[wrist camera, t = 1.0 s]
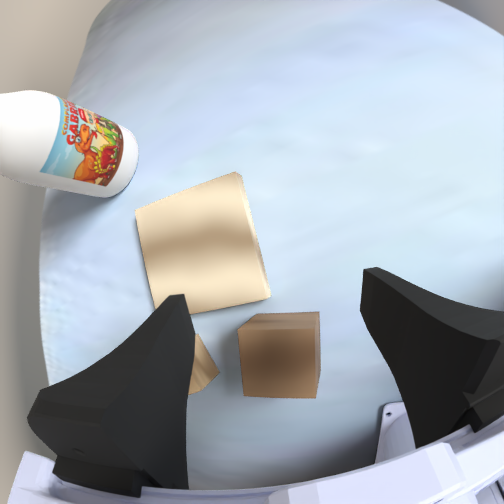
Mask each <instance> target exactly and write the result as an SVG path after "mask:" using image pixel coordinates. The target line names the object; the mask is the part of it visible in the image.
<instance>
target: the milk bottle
mask: <svg viewBox="0 0 504 504" xmlns="http://www.w3.org/2000/svg"><path fill="white" fill-rule="evenodd" d="M138 159H139V148H138V143H137V141H136V138H135V137H134V135H133V134H132V133H131V132H130V131H129V130H127V129H126V128H124V127H122V126H120V125H118V124H116V123H114V122H112V121H110V120H108V119H106V118H104V117H102V116H100V115H98V114H95V113H93V112H91V111H89V110H87V109H85V108H83V107H80V106H78V105H76V104H74V103H71V102H69V101H67V100H65V99H62V98H60V97H57V96H54V95H52V94H49V93H45V92H41V91H33V90H32V91H19V92H13V93H5V94H0V174H1V175H3V176H5V177H7V178H9V179H11V180H14V181H17V182H22V183H26V184H31V185H36V186H41V187H46V188H52V189H57V190H63V191H68V192H74V193H79V194H85V195H90V196H96V197H103V198H106V197H111V196H113V195H116V194H117V193H119V192H120V191H122V190H123V189H124V188H125V187H126V186H127V185H128V184H129V182H130V180H131V179H132V177H133V175H134V173H135V171H136V167H137V164H138Z"/></svg>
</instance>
